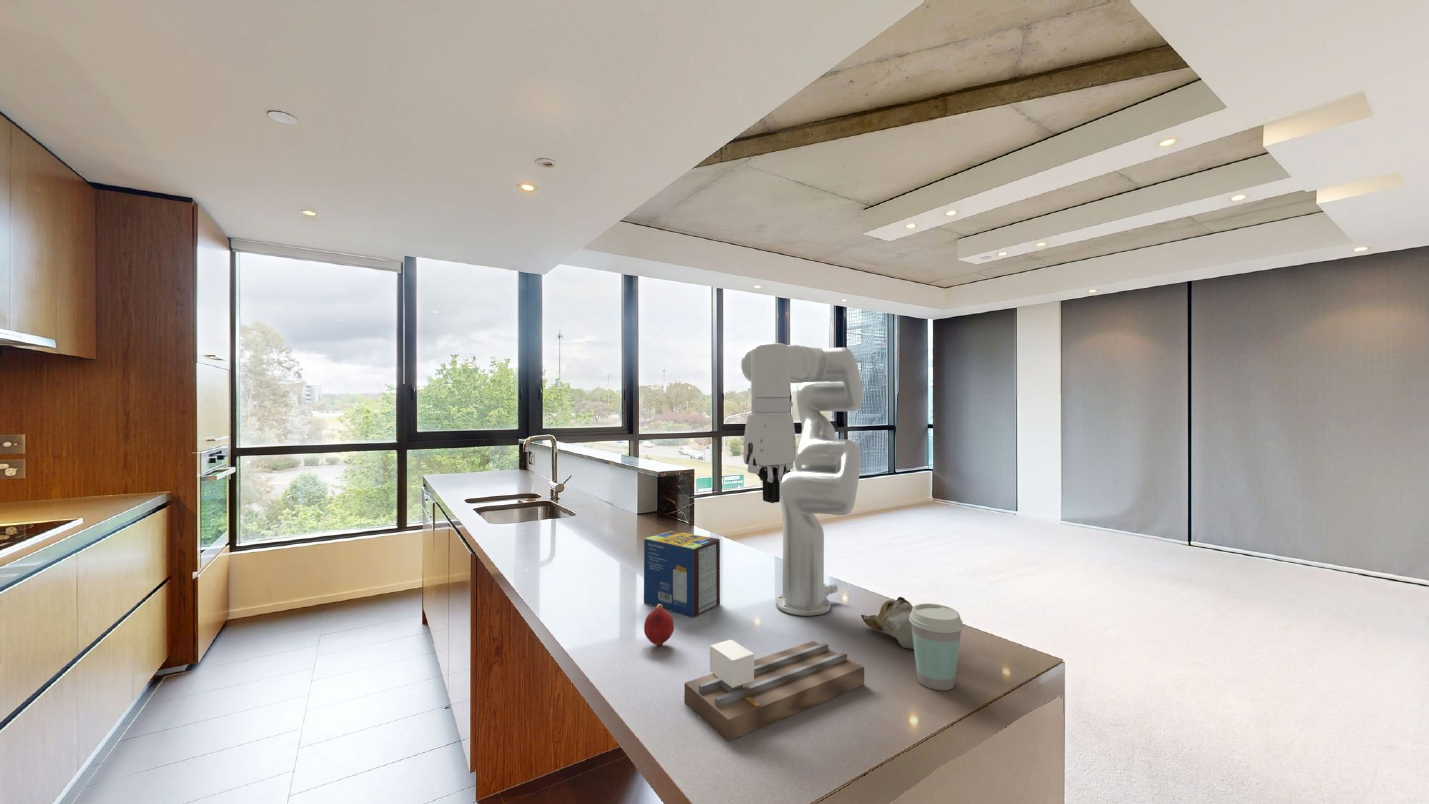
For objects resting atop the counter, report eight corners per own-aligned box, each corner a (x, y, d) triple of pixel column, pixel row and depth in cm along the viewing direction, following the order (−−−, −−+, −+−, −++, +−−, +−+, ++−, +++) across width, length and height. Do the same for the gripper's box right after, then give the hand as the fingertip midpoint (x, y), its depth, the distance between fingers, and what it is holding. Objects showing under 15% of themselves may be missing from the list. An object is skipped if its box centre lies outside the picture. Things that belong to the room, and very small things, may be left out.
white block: (730, 676, 86) (731, 639, 87) (753, 693, 81) (754, 653, 82) (710, 683, 84) (710, 645, 84) (732, 701, 79) (732, 660, 79)
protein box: (670, 591, 136) (671, 529, 136) (720, 604, 127) (721, 538, 127) (642, 603, 128) (642, 537, 128) (693, 618, 119) (693, 548, 119)
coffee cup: (960, 674, 94) (960, 605, 95) (965, 699, 86) (966, 624, 86) (908, 666, 97) (908, 599, 97) (909, 689, 89) (909, 616, 89)
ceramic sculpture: (895, 609, 101) (857, 588, 116) (896, 656, 101) (858, 629, 115) (945, 605, 104) (902, 585, 118) (946, 652, 103) (903, 625, 118)
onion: (668, 653, 102) (669, 611, 102) (639, 651, 103) (640, 608, 103) (677, 640, 107) (677, 600, 107) (649, 638, 109) (649, 598, 109)
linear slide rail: (813, 656, 101) (813, 635, 101) (864, 684, 91) (864, 660, 91) (684, 701, 85) (684, 676, 85) (728, 741, 75) (728, 712, 75)
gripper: (786, 406, 112) (787, 494, 112) (728, 407, 103) (728, 503, 104) (812, 406, 106) (812, 500, 106) (752, 408, 97) (753, 510, 97)
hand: (771, 501), depth 105 cm, fingers closed
